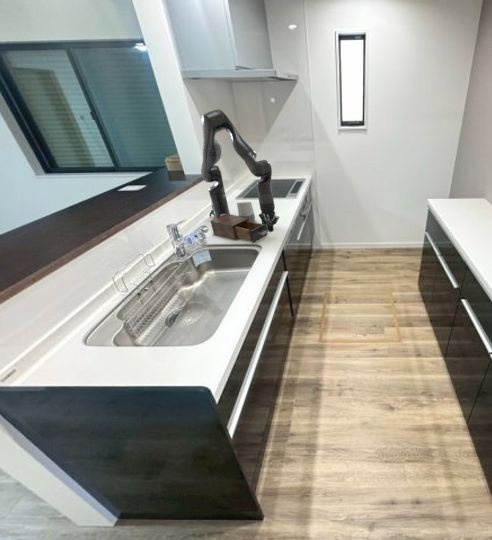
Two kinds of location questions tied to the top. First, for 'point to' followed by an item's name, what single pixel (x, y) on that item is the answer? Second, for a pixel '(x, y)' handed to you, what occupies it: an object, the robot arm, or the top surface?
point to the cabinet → (227, 225)
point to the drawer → (251, 231)
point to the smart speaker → (246, 210)
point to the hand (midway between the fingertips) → (271, 231)
